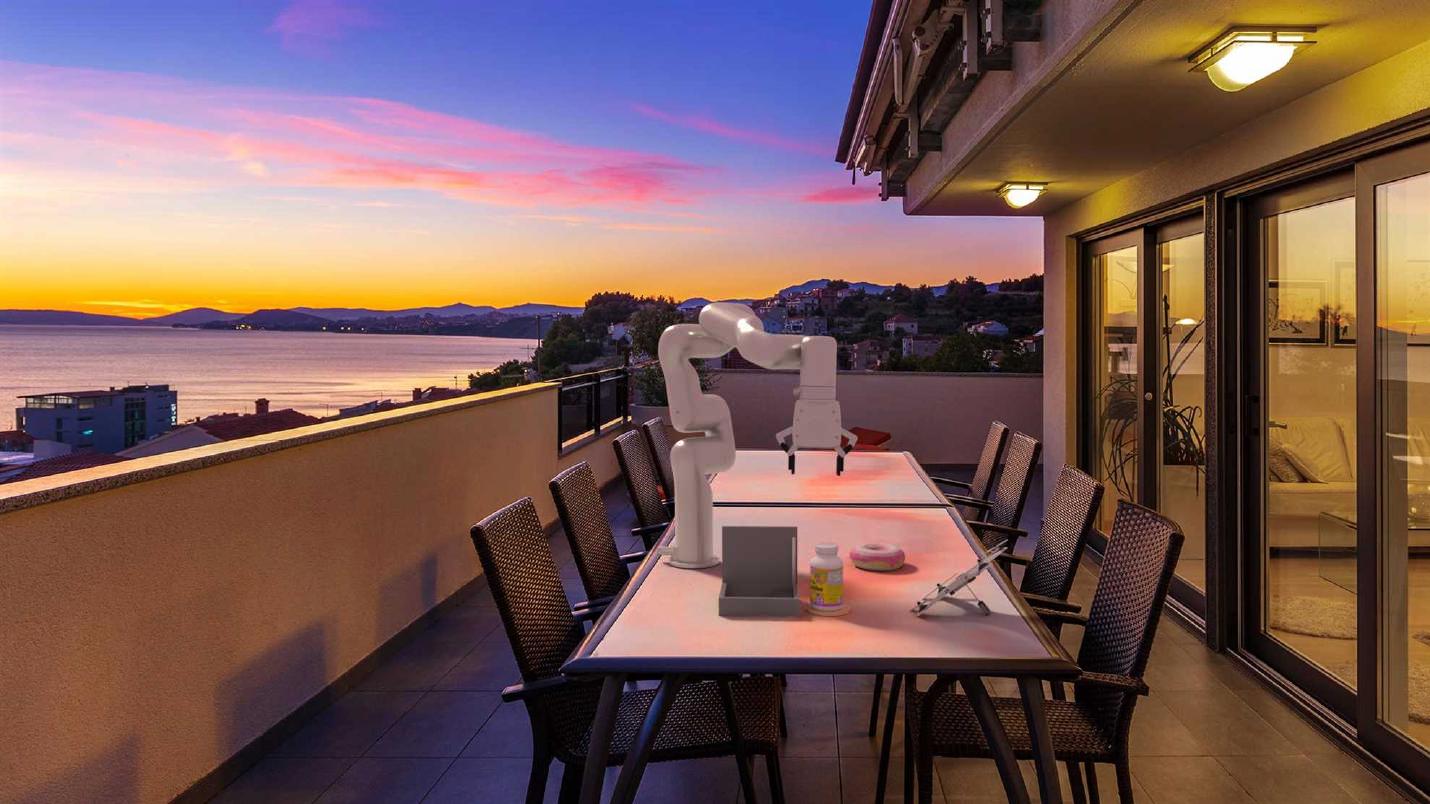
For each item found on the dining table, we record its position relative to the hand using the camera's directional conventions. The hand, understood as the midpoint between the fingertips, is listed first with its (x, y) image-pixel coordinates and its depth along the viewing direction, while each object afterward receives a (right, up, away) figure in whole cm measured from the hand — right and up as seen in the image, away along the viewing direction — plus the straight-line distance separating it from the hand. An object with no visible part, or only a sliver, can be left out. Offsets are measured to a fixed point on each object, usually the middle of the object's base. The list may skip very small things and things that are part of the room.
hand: (815, 474), depth 178 cm
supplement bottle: (+1, -27, -8) cm, 28 cm away
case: (-12, -27, -6) cm, 30 cm away
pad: (+2, -27, -8) cm, 28 cm away
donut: (+19, -26, +28) cm, 42 cm away
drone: (+28, -27, -9) cm, 40 cm away
